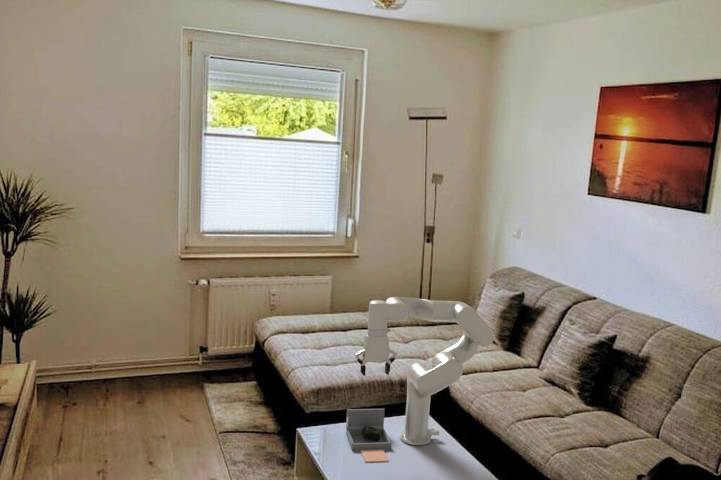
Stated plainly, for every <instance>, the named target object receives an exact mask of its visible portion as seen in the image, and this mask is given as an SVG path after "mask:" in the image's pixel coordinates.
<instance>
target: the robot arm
mask: <svg viewBox="0 0 721 480" xmlns="http://www.w3.org/2000/svg"><path fill="white" fill-rule="evenodd" d="M368 304H369V305H368V317H367V318H368V319H367V321H368V322H367V334H365V335H364V339H363V345H362V350H359V351H358V352H356V353H354V357H355V359H356V361H357V362H358V363H359V364H360V374H361V375H362V376H364V377H365V376H366V369H367V366H366V364H367V363H368V362H383V361H385V363H384V373H385V374H386V375H388V376H389V374H390V372H391V365H392V363H393V362H394V361H395V360H396V358H397V356H398V353H397V352H396V351H394V350H393V349H390V338H389V335H388V333H391V329H390V328H389V327H388V321H392V322H404V321H405V320H406V319H408V317H409V316H412V317H415V318H420V319H422V320H424V321H427V322H433V323H456V324H457V325H459V326H460V327H461V328H462V329H463V332H462V335H461V337H460V339H459V340H458V341H457V342H456V343H455V344H452V345H451V346H449V347H447V348H445V349H443V350H441V351H439V352H438V353H436V354H435V355H434V356H433V357H432V358H431V366H432V368H430V366H428V365H427V364H426V363H424V362H421V361H420V362H419V361H417V362H414V363H413V364H411V365H410V366H409V367H408V370H407V373H406V392H407V393H406V405H405V419H404V430H403V431H401V432H400V434H399V438H400V440H401V441H402V442H404V443H405V444H408V445H412V446H424V445H425V446H426V445H428V444H430V443H431V442H432V436H440V431H439V430H435V428H429V421H430V408H431V407H430V406H431V396H432V395H434V394H437V393H438V392H440V391H443V390H444V389H446V388H448V387H449V386H451V385H453V384H455V383H456V382H458V381H459V379H461V377H462V376H463V373H464V366H463V365H464V364H465V363H467V362H468V361H470V360H471V359H473V357H474V356H475V355H476V353H477V352H478V349H479V347H481V348H486V347H490V346H491V345H492V344H493V343H494V339H495V333H494V330H493V329H492V327H491V326H490V325H489V324H488V322H486V321H485V320H484V319H483V317H481V315H480V314H479V313H478V312H477V311H476V310H475V309H474V307H472V306H471V305H468V304H467V303H465V302H463V301H459V300H438V299H437V300H436V299H435V300H433V299H426V298H418V297H417V298H416V297H409V296H392V297H389V298H387V299H386V300H381V299H376V300H375V299H374V300H371V301H370V302H369V303H368ZM391 354H392V355H391ZM390 355H391V357H390ZM361 356H362V359H361V358H360V357H361Z"/></svg>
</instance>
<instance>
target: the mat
mask: <svg viewBox="0 0 721 480" xmlns="http://www.w3.org/2000/svg"><path fill="white" fill-rule="evenodd" d="M360 453H361V455H362V458H363V460H364V462H365V463H385V462H390V460H389V457H388V455H387V454H386V452H385V449H379V450H360Z"/></svg>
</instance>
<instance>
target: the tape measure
mask: <svg viewBox="0 0 721 480" xmlns="http://www.w3.org/2000/svg"><path fill="white" fill-rule="evenodd" d="M361 436H362V437H363V438H364V439H367V440H369V441H374V442H379V441H380V440H381V434H379V432H378V430H377V429H375V428H373V427H370V426H365V427H364V428H363V431H362V435H361Z"/></svg>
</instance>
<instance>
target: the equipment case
mask: <svg viewBox="0 0 721 480" xmlns="http://www.w3.org/2000/svg"><path fill="white" fill-rule="evenodd" d="M345 419H346V422H345V429H346V431H345V436H346V438H347V440H348V444H349V447H350V449H351V451H361V450H379V449H383V450H392V442H391V439H390V437H389V436H388V434H387V432H386V430H385V429H384V425H385V424H384V422H385V408H354V409H353V408H352V409H351V408H349V409H348V408H347V409H346V418H345ZM365 426H370V427H373V428H375V429H377V430H378V432H379V434H380V435H381V436H382V437H383V440H384V442H357V443H354V440H353V437H352V436H363V435H362V431H363V428H364V427H365Z"/></svg>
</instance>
